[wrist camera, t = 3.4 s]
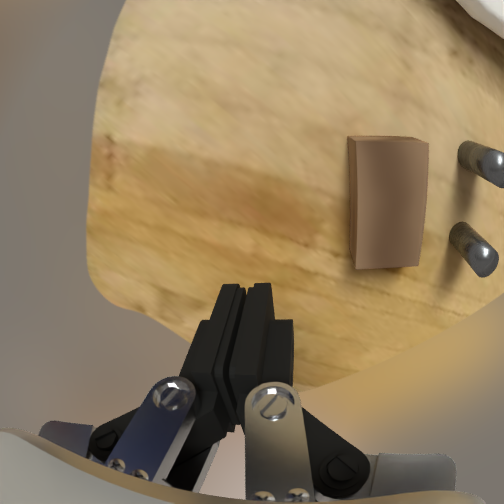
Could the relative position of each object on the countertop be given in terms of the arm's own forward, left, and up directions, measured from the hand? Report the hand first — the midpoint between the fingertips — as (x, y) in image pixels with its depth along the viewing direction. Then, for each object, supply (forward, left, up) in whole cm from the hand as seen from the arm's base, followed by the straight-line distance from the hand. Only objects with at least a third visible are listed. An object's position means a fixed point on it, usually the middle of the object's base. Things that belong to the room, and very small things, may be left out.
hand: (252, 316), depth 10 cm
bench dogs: (-16, 0, -13) cm, 21 cm away
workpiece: (-8, 0, -13) cm, 16 cm away
